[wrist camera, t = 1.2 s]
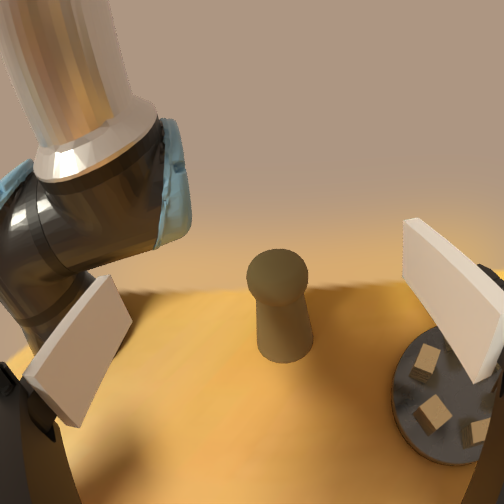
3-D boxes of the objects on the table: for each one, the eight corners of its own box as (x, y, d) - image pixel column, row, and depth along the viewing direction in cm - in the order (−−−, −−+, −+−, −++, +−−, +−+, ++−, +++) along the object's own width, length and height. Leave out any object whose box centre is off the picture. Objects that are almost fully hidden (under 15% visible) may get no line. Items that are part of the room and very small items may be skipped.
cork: (266, 314, 34) (251, 236, 27) (317, 321, 32) (318, 241, 25) (249, 357, 29) (227, 282, 23) (306, 367, 27) (305, 292, 21)
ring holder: (361, 431, 21) (367, 421, 19) (420, 310, 30) (427, 293, 28) (496, 481, 12) (513, 474, 10) (526, 352, 21) (538, 337, 19)
